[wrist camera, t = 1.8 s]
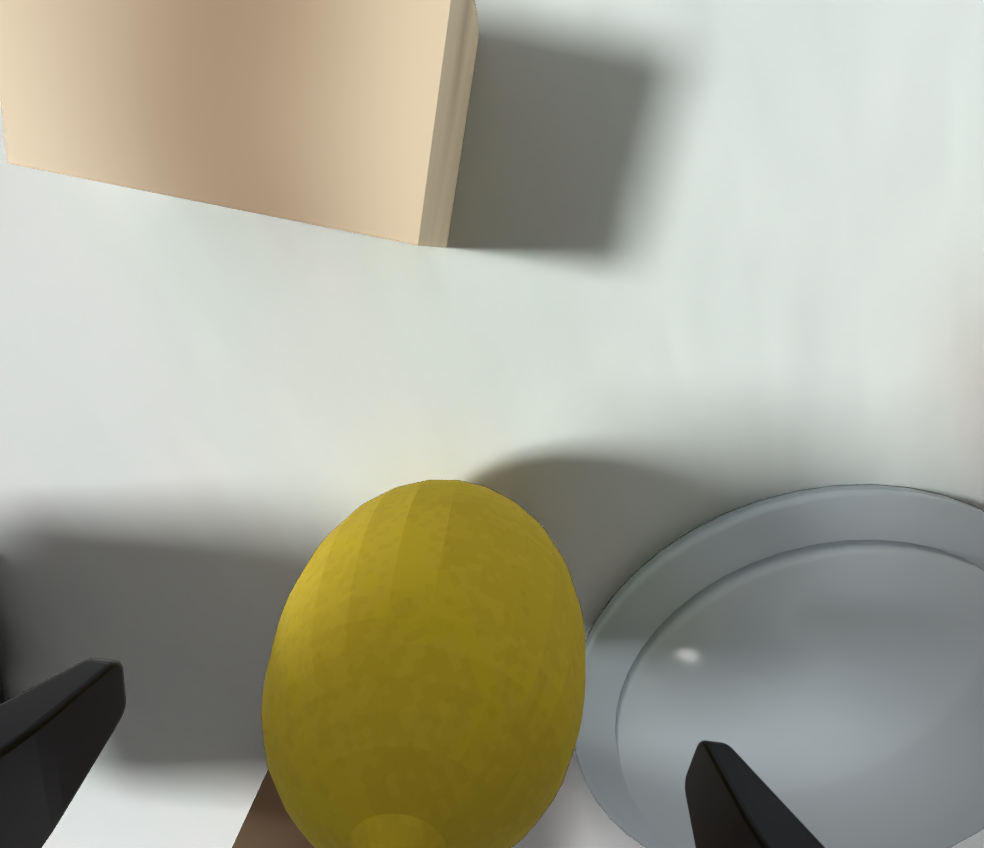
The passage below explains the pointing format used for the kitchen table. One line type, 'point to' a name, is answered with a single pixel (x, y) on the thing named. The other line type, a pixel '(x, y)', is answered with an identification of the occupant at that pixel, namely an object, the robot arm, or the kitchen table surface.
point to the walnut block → (269, 822)
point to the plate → (801, 668)
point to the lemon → (426, 675)
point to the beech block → (250, 103)
